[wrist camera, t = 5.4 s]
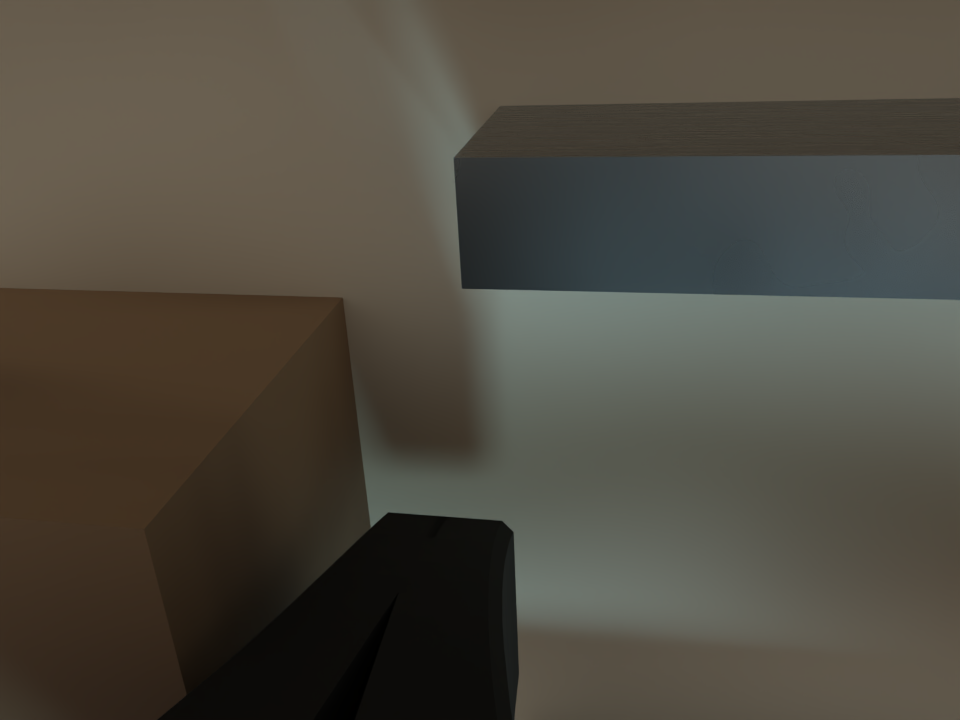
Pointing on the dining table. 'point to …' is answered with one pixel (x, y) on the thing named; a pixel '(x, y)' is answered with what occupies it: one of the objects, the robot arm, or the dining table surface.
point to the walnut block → (163, 487)
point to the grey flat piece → (540, 322)
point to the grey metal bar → (715, 199)
